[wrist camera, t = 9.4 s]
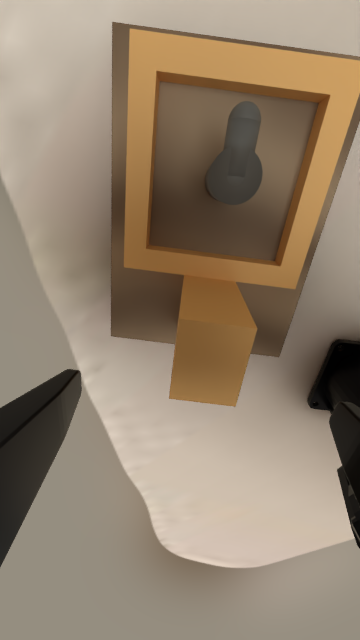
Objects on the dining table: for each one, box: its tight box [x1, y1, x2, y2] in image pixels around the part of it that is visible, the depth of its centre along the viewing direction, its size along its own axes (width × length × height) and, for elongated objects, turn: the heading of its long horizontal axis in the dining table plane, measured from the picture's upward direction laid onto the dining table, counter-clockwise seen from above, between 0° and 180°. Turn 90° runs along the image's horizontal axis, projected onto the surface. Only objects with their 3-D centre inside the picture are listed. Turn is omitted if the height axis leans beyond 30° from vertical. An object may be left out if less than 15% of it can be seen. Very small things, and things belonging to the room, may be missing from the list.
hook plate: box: [111, 22, 360, 357], centre depth 14 cm, size 16×12×6 cm
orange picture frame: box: [124, 29, 360, 407], centre depth 12 cm, size 14×10×7 cm
